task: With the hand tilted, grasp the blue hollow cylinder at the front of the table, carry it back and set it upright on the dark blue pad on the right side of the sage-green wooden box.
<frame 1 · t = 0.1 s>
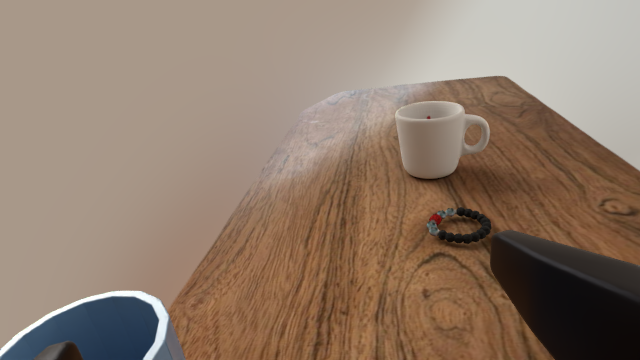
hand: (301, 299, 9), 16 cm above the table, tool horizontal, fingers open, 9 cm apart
bracelet: (459, 230, 39), on the table
cup: (442, 172, 52), on the table
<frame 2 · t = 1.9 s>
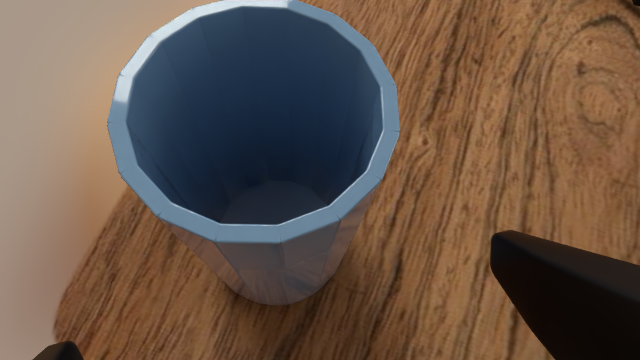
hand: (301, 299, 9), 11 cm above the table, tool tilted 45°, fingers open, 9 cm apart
blue hollow cylinder: (278, 238, 20), on the table
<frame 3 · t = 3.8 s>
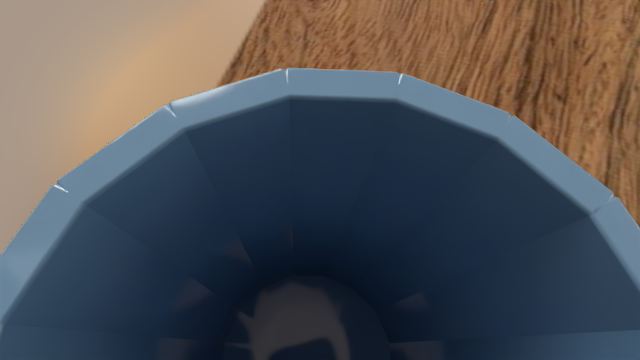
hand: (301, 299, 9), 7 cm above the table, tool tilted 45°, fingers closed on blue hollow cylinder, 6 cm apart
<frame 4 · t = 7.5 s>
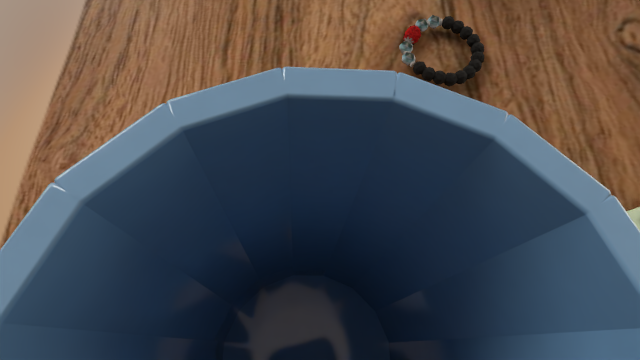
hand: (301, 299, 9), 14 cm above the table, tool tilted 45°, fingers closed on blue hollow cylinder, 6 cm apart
bracelet: (439, 56, 29), on the table
blue hollow cylinder: (306, 359, 14), point 7 cm above the table, touching gripper
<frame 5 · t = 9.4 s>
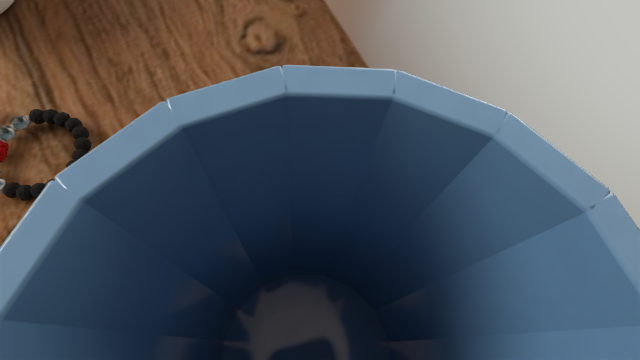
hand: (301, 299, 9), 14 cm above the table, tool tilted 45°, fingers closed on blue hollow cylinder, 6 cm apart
bracelet: (44, 158, 24), on the table
blue hollow cylinder: (306, 359, 14), point 7 cm above the table, touching gripper
when the fingers open (11 cm above the table, at t = 11.3 s): blue hollow cylinder stays where it is, resting on box.
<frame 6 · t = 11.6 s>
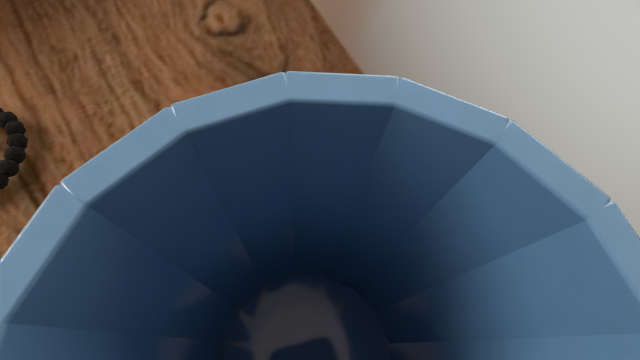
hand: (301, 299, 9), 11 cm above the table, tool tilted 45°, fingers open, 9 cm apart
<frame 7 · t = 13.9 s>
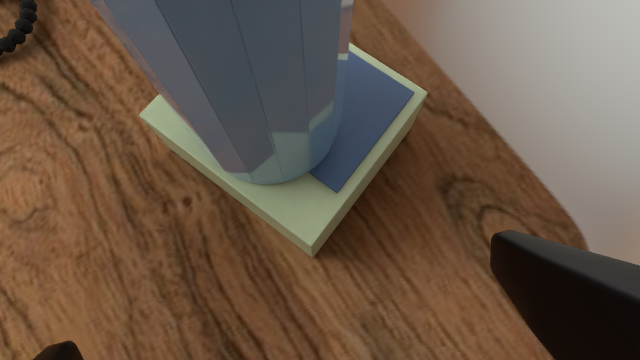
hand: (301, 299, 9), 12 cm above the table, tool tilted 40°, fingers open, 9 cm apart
blue hollow cylinder: (268, 116, 18), point 4 cm above the table, touching box
box: (290, 137, 23), on the table
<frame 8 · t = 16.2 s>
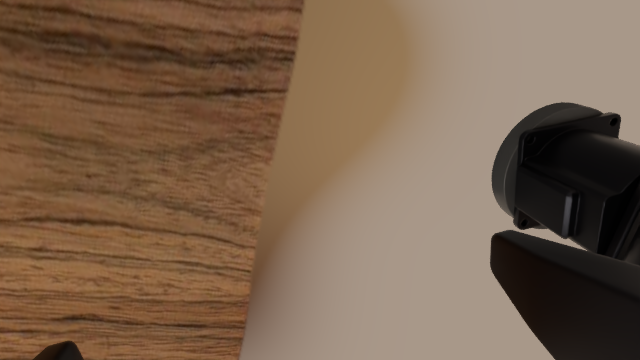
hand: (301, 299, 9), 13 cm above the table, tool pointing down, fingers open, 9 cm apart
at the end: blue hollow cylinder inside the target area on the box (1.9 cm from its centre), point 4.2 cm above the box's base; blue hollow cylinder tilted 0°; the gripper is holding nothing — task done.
